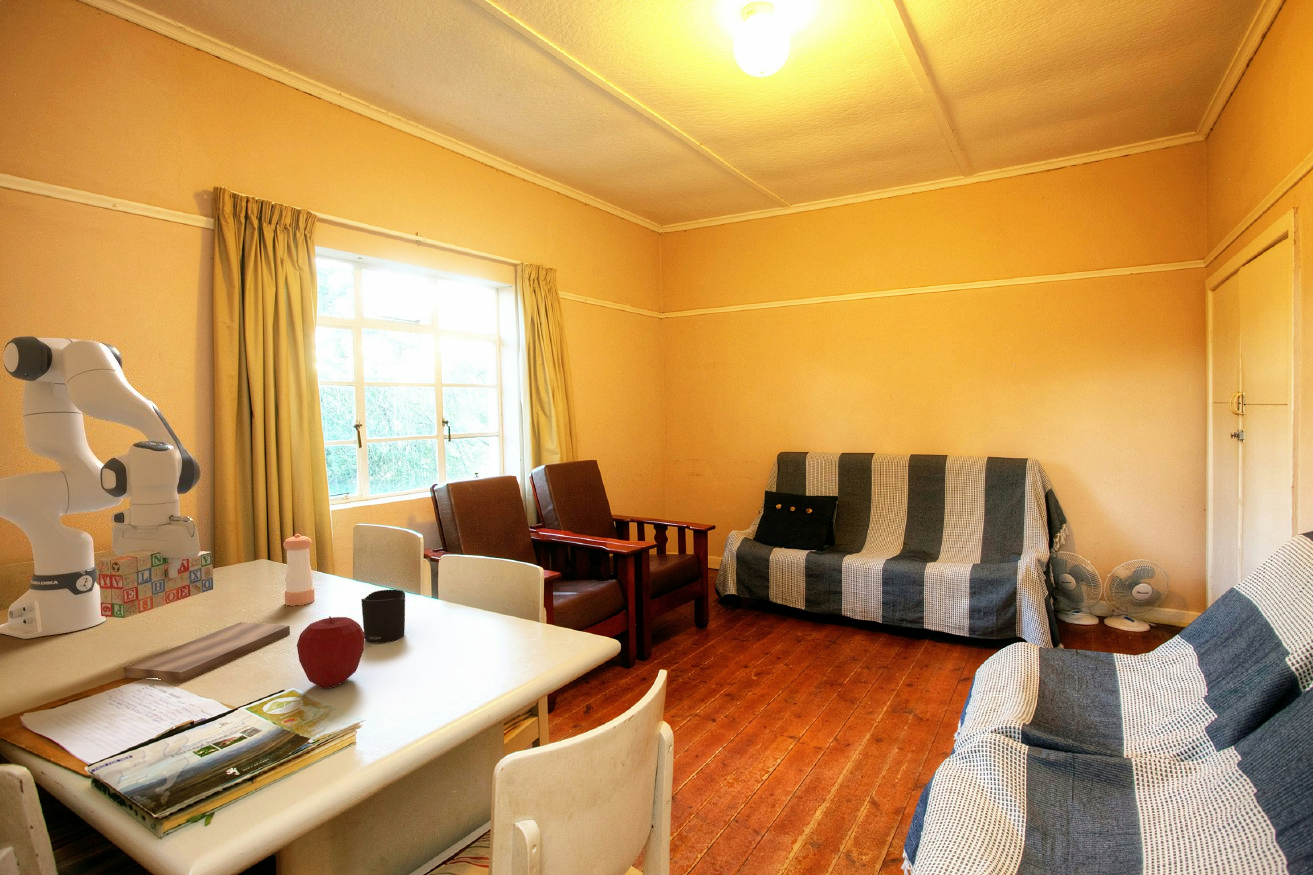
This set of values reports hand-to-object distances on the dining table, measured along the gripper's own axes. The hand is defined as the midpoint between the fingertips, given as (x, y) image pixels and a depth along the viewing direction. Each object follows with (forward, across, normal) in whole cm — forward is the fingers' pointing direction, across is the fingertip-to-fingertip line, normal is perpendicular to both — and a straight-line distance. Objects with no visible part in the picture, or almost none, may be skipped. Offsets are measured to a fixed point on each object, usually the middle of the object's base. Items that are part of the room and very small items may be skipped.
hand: (157, 576), depth 145 cm
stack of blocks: (+6, 0, 0) cm, 6 cm away
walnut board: (+16, -15, 0) cm, 22 cm away
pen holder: (+16, -46, -16) cm, 51 cm away
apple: (+16, -52, +9) cm, 55 cm away
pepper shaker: (+17, -5, -37) cm, 41 cm away
